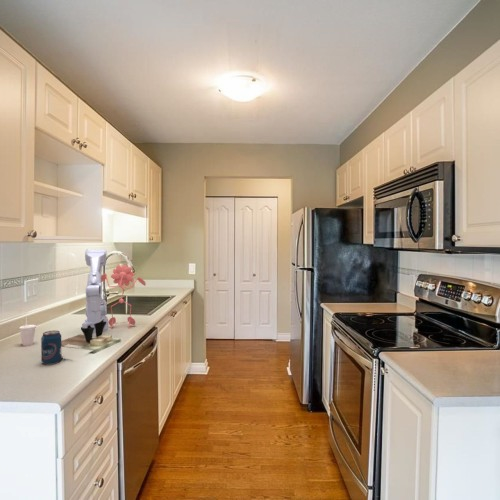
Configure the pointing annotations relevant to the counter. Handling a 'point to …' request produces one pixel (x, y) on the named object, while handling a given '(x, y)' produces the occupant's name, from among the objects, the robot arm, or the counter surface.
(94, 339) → the block
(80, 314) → the counter surface
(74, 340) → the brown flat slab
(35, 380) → the counter surface
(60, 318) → the counter surface
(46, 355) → the soda can
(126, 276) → the figurine
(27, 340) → the smoothie
